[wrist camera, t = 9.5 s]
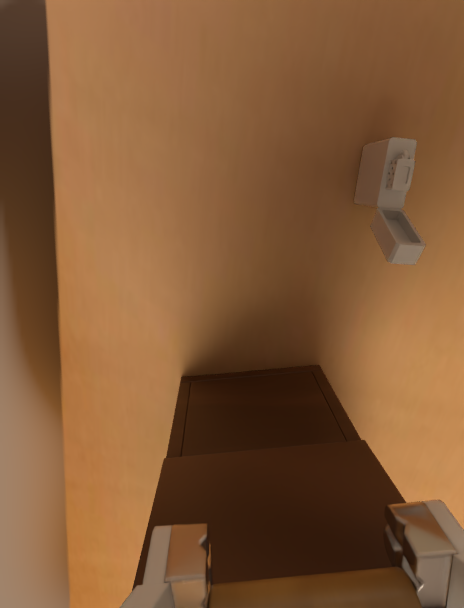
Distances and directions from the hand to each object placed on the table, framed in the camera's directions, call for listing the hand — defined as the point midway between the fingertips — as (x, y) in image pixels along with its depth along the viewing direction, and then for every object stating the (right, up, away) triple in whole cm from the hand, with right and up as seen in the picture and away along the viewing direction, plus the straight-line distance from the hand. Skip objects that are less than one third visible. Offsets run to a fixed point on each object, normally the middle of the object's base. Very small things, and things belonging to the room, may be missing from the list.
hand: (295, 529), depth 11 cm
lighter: (+8, +14, +17) cm, 24 cm away
